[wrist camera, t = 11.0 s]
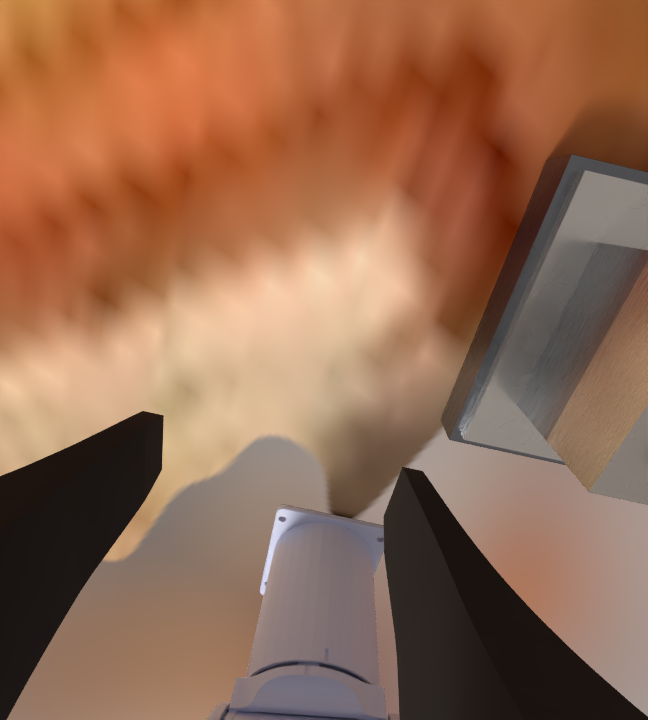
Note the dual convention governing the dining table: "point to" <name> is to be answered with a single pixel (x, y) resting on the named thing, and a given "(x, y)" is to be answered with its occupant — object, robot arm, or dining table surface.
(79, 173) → the dining table surface
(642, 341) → the housing
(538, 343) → the panel
